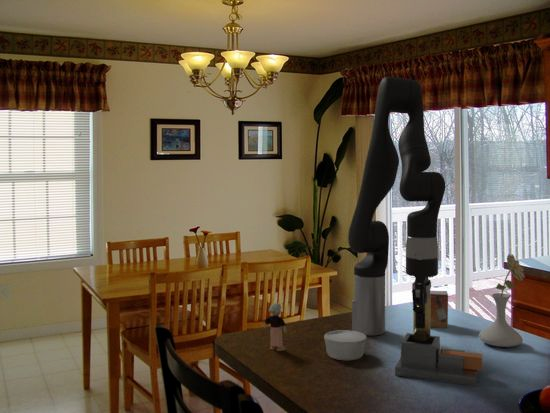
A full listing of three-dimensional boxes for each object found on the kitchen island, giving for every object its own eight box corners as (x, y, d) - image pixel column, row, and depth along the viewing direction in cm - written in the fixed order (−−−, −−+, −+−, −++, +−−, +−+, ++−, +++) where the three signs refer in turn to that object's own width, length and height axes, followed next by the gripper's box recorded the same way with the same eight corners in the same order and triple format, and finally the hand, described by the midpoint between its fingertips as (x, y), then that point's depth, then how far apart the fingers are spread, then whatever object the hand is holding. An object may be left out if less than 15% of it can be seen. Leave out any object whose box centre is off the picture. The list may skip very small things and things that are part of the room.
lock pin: (441, 365, 134) (441, 353, 134) (442, 361, 137) (442, 349, 136) (481, 370, 130) (481, 358, 130) (482, 366, 133) (482, 354, 133)
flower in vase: (502, 353, 149) (504, 259, 147) (469, 341, 159) (470, 253, 157) (536, 345, 155) (538, 255, 153) (502, 334, 165) (503, 250, 163)
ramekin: (341, 345, 157) (341, 327, 156) (375, 355, 149) (375, 335, 148) (315, 355, 149) (315, 335, 148) (348, 365, 141) (349, 344, 141)
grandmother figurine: (291, 348, 154) (291, 302, 154) (285, 352, 151) (285, 305, 150) (266, 344, 158) (265, 300, 157) (260, 348, 154) (259, 303, 153)
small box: (420, 327, 174) (421, 293, 173) (420, 322, 179) (420, 289, 179) (448, 328, 172) (448, 294, 172) (446, 323, 178) (446, 290, 177)
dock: (395, 375, 134) (395, 344, 133) (404, 359, 145) (404, 330, 144) (475, 386, 127) (476, 353, 126) (478, 368, 138) (479, 338, 137)
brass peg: (412, 339, 136) (412, 298, 135) (414, 335, 139) (414, 295, 139) (429, 341, 134) (429, 300, 134) (431, 337, 138) (431, 296, 137)
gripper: (410, 250, 144) (410, 317, 145) (400, 258, 130) (400, 332, 131) (441, 251, 141) (441, 319, 142) (434, 260, 128) (433, 335, 129)
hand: (421, 325), depth 137 cm, fingers closed on brass peg, 4 cm apart
